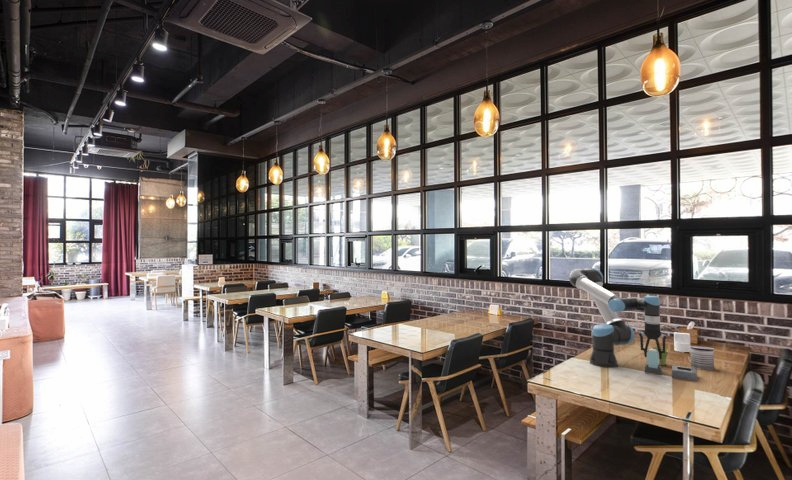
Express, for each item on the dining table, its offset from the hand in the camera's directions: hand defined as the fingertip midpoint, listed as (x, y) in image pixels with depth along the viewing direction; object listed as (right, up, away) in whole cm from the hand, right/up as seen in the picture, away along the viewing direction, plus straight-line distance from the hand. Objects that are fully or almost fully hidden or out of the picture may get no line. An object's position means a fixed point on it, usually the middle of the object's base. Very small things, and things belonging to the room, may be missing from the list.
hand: (653, 363), depth 231 cm
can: (+35, -5, +8) cm, 36 cm away
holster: (0, -5, 0) cm, 5 cm away
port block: (+12, -4, -9) cm, 15 cm away
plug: (0, -5, 0) cm, 5 cm away
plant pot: (+13, -5, +15) cm, 21 cm away
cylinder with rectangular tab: (+49, -5, +45) cm, 66 cm away
